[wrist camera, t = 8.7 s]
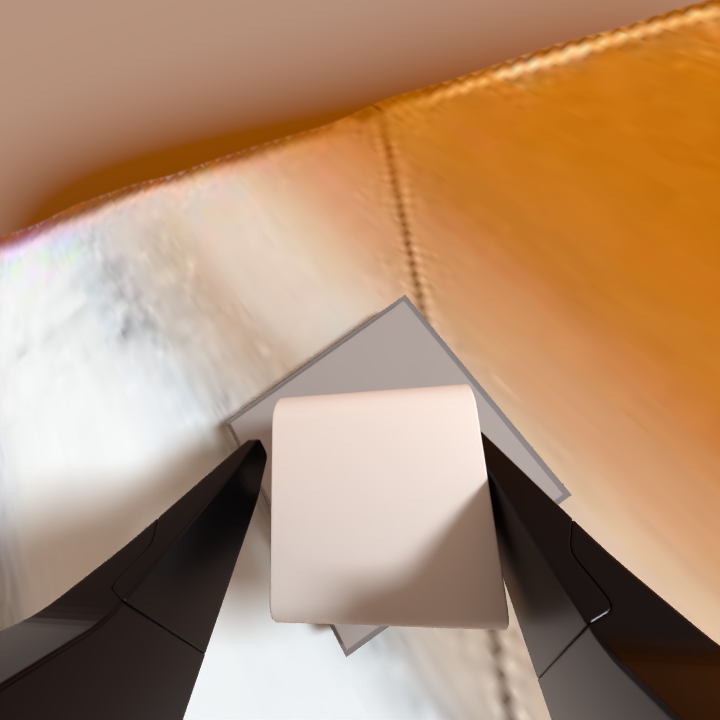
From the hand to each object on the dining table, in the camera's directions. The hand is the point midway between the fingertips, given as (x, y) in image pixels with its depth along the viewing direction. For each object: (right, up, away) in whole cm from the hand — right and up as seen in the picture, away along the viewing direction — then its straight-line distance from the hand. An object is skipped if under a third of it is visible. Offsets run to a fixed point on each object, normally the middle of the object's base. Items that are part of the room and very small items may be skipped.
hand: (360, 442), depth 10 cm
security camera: (+2, -3, +7) cm, 8 cm away
